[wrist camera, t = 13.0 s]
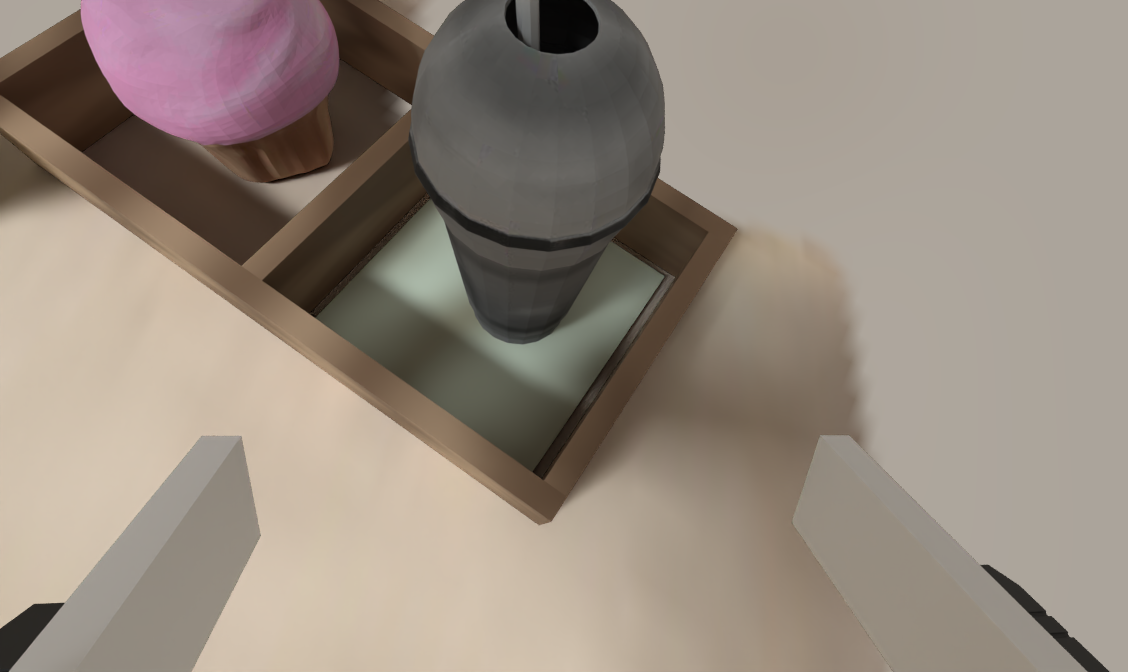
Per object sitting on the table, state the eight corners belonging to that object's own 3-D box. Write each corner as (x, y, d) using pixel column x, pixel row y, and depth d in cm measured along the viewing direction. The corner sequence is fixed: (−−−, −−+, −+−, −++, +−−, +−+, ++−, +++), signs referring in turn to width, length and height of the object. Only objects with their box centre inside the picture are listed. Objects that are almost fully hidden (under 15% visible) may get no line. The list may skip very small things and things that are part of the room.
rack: (34, 162, 26) (-51, 89, 22) (271, -5, 31) (238, -89, 27) (539, 525, 23) (551, 521, 19) (700, 274, 29) (737, 229, 25)
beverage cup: (544, 402, 25) (704, -4, 6) (410, 320, 25) (190, -277, 7) (619, 281, 27) (889, -258, 9) (496, 210, 28) (508, -440, 9)
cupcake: (396, 178, 28) (354, 1, 19) (227, 251, 26) (82, 88, 16) (318, 59, 30) (245, -155, 21) (153, 115, 28) (-14, -100, 18)
